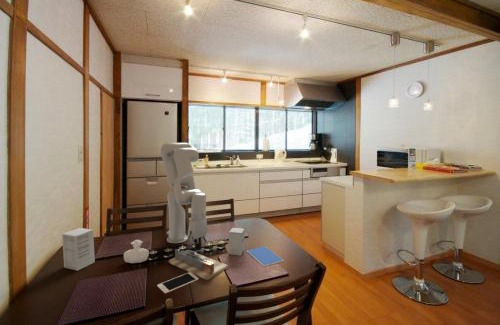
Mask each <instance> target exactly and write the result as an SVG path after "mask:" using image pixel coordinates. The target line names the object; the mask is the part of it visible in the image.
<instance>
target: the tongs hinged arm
mask: <svg viewBox="0 0 500 325" xmlns="http://www.w3.org/2000/svg"><path fill="white" fill-rule="evenodd" d="M184 251H185V250H180V252H182V253H184V254H187V255H189V256H192V257H194V258H197V259H199V260H202V261H204V262H208V263H210V264H212V273H213V272H214V263H213V262H210V261H207V260H205V259H202V258H200V257H197V256H195V255H192V254H189V253H187V252H184Z"/></svg>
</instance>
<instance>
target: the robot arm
mask: <svg viewBox="0 0 500 325" xmlns="http://www.w3.org/2000/svg"><path fill="white" fill-rule="evenodd" d="M160 156H161V160H162V161H163V163H164V166H165V173H166V181H167V184H168V186H169V187H171V188H173V189H171V190H169V191H168V193H167V194H166V199H167V202H168V203H167V204H168V216H169V217H168V223H169V224H168V228H169V229H168V231H166V234H167V235H168V237H167V238H166V242H167V243H169V244H180V243H184V242H186V241H188V239H189V242H191V243H192V242H193V243H194V249H195V251H196V250H197V251H201V250H202V242H203V239H204V238H205V237H206V236H207V234H208V221H207V194H206V193H204V192H203V191H202V190H200V189H197V188H196V183H195V178H194V168H193V166H192V163H193V162H194V163H195V162H197V161H199V157H200V155H199V152H198V150H197V148H196V147H194V145H192V144H190V143H189V142H167V143H166V142H165V143H163V144H162V145H161V147H160ZM183 187H184V188H183ZM185 205H190V206H191V207H190V208H191V209H190V211H191V212H190V213H191V214H190V218H191V219H190V218H189V222H188V229H187V230H188V231H187V234H186V210H185V208H184V207H183V206H185Z"/></svg>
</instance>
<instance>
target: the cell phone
mask: <svg viewBox="0 0 500 325" xmlns="http://www.w3.org/2000/svg"><path fill="white" fill-rule="evenodd" d="M199 279H200V278H199V276H197V275H195V274H193V273H191V272H187V273H183V274H181V275H179V276H175V277H174V278H171V279H169V280H166V281H164V282H160V283H158V284H157V285H156V286H157V287H158V288H159V289H160V290H161V291H162V292H163V293H164V294H168V293H170V292H172V291H175V290H177V289H179V288H182V287H184V286H186V285H188V284H191V283H193V282H196V281H198V280H199Z"/></svg>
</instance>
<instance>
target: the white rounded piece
mask: <svg viewBox="0 0 500 325" xmlns="http://www.w3.org/2000/svg"><path fill="white" fill-rule="evenodd" d="M142 244H143V241H142V240H140V239H135V240H133V241H132V242H130V245H131V246H132V247H133V248H132V249H129V250H126V251H125V252H124V253H123V260H124V262H125V263H130V264H137V263H142V262H146V261H147V260H148V258H149V256H150V255H149V254H150V251H149V250H148V249H147V248H141V246H142Z"/></svg>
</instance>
